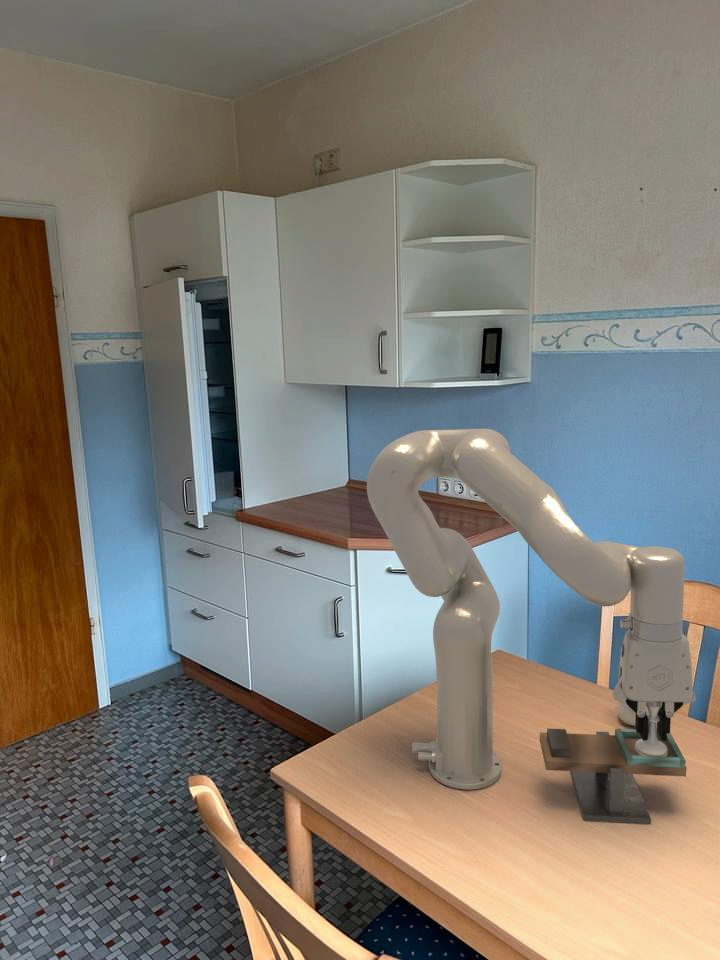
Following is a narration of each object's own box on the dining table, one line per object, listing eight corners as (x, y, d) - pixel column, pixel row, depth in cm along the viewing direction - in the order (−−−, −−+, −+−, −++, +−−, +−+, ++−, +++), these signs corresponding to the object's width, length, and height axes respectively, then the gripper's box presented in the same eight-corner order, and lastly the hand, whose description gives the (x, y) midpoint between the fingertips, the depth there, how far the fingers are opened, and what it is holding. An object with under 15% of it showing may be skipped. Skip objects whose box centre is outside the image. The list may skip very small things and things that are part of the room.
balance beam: (546, 775, 113) (546, 753, 112) (539, 744, 122) (539, 723, 121) (686, 782, 110) (687, 759, 110) (669, 750, 119) (670, 728, 119)
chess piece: (670, 760, 112) (674, 701, 110) (637, 757, 113) (640, 699, 111) (664, 743, 117) (667, 686, 115) (632, 740, 118) (635, 684, 116)
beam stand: (583, 820, 112) (584, 773, 110) (570, 771, 124) (571, 728, 123) (650, 824, 110) (652, 776, 109) (630, 774, 123) (632, 730, 122)
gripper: (607, 636, 108) (605, 748, 112) (719, 637, 106) (713, 750, 110) (597, 617, 116) (595, 723, 119) (702, 618, 114) (697, 725, 117)
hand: (652, 735), depth 114 cm, fingers closed on chess piece, 2 cm apart
